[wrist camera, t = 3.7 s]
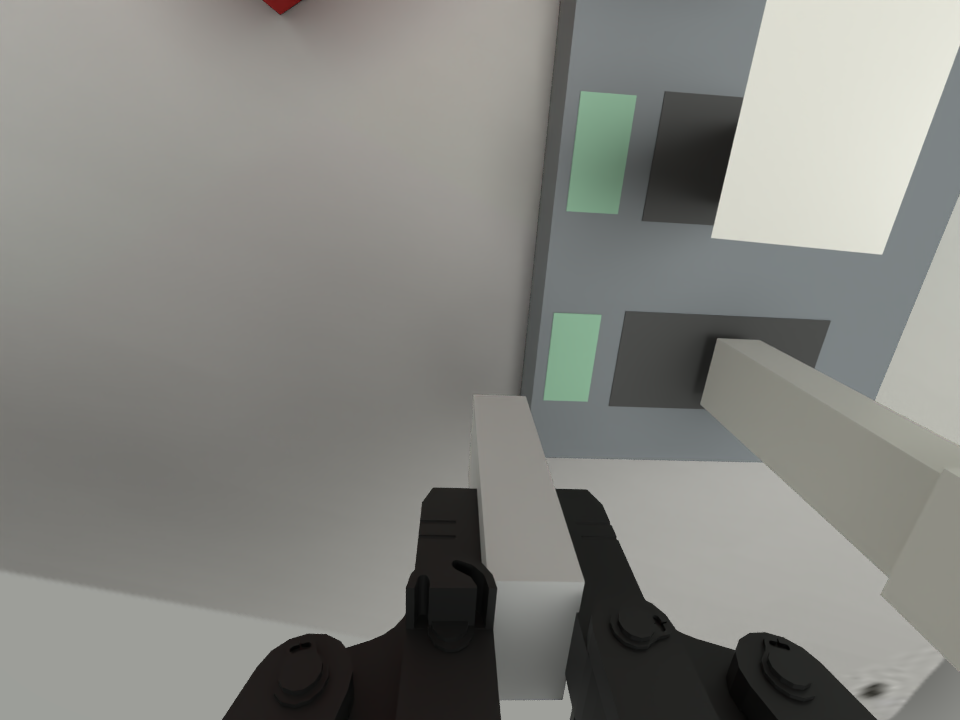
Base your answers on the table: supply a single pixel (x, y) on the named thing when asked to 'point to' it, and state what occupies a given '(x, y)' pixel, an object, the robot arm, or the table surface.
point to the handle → (835, 120)
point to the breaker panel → (689, 239)
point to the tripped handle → (854, 474)
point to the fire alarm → (281, 4)
